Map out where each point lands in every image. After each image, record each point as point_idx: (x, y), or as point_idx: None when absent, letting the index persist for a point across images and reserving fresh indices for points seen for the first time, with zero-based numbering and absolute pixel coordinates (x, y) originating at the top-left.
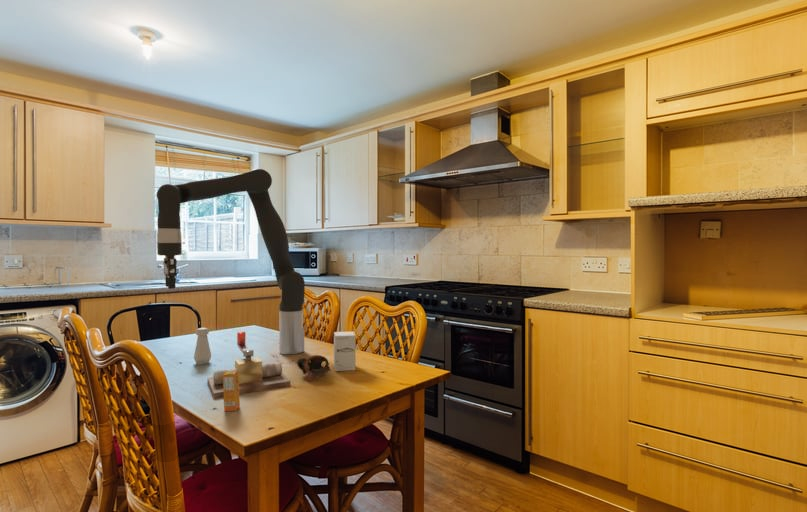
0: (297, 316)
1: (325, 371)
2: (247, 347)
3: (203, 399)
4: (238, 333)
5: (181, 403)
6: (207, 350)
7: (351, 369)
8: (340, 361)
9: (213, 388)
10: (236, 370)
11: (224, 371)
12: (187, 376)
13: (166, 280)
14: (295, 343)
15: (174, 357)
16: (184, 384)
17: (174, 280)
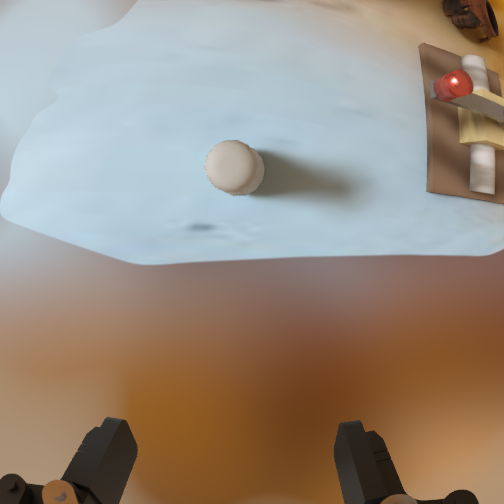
0: None
1: (489, 18)
2: (479, 96)
3: (495, 219)
4: (470, 93)
5: (492, 253)
6: (256, 155)
7: None
8: None
9: (489, 198)
10: (494, 149)
11: (494, 173)
12: (356, 224)
13: (121, 486)
14: None
15: (131, 240)
16: (412, 237)
17: (377, 477)
